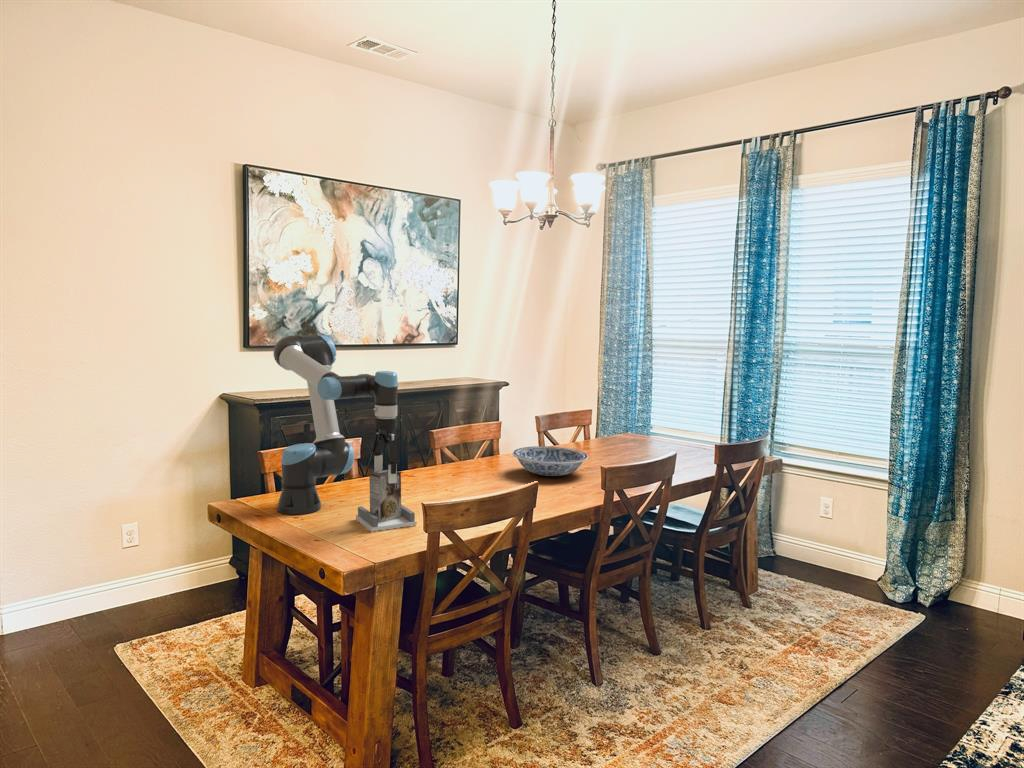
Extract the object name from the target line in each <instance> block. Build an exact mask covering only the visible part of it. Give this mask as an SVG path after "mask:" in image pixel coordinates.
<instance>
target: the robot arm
mask: <svg viewBox="0 0 1024 768" xmlns="http://www.w3.org/2000/svg"><path fill="white" fill-rule="evenodd" d="M336 356H337V349H336V346H335V343H334V341H333V340H332V339H331V338H330V337H328V336H326V335H319V334H309V335H307V334H306V335H304V334H303V335H301V334H300V335H298V334H297V335H295V334H294V335H286V336H284V337H282V338H280V339H279V340H278V341H277V342H276V344H275V345H274V349H273V358H274V361H275V363H277V365H278V366H280V367H281V368H282V369H284V370H286V371H291V372H293V373H295V374H296V375H297V376H299V377H300V378H302V379H304V380H305V381H306V382H307V388H308V397H309V400H310V401H309V402H310V408H311V412H312V420H313V425H314V429H315V430H314V431H315V436H316V437H315V440H313V442H311V443H310V442H304V443H296V444H292V445H289V446H287V447H285V448H284V449H283V451H282V453H281V460H280V462H281V487H282V488H281V492H280V496H279V498H278V502H277V510H276V511H277V512H279V513H280V514H285V515H305V514H311V513H315V512H319V510H321V508H322V505H321V504H322V503H321V499H320V496H319V493H318V490H317V488H316V487H317V486H316V485H317V484H316V480H317V479H319V478H326V477H331V476H339V475H342V474H346V473H348V472H349V471H350V470H351V469H352V466H353V464H354V461H355V452H354V448H353V446H352V444H351V443H349V442H347V441H346V439H345V436H344V435H342V434H341V433H340V428H339V423H338V415H337V410H336V405H335V401H336V400H341V399H342V400H344V399H355V398H368V397H369V398H374V408H373V411H374V416H375V417H374V428H375V430H374V431H375V433H374V439H373V444H372V448H371V452H372V453H373V456H374V459H373V460H374V463H373V465H374V467H373V468H374V471H373V472H378V471H383V470H384V469H383V467H384V466H383V462H384V460H383V455H384V452H383V451H384V449H385V450H386V453H387V458H388V462H387V465H388V466H387V467H388V469H387V470H388V483H389V484H390V483H397V471H398V464H400V463H401V460H400V453H399V449H398V442H397V440H398V439H397V436H398V435H397V434H396V433H393V430H396V429H397V428H398V418H397V417H398V394H399V393H398V390H399V389H398V387H399V382H398V374H397V372H395V371H389V370H381V371H376V372H375V375H373V374H369V373H360V374H359V373H358V374H357V375H344V376H343V375H342V376H341V375H339V374H337V373H335V372H333V371H332V368H333V364H334V363H335V362H336V359H337V358H336Z"/></svg>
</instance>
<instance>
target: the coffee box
mask: <svg viewBox="0 0 1024 768" xmlns="http://www.w3.org/2000/svg"><path fill="white" fill-rule="evenodd" d="M401 472H402V471H398V470H397V483H390V484H389V483H388V469H383V470H382V471H378V472H374V471H373V472H370V473H369V474H368V475H369V512H371V513H372V514H373V515H375V516H376V517H377V518H378V522H384V521H388V520H392V519H395V518H399V517H401V505H402V481H401V480H402V475H401V474H402V473H401Z"/></svg>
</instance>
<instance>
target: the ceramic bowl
mask: <svg viewBox="0 0 1024 768" xmlns="http://www.w3.org/2000/svg"><path fill="white" fill-rule="evenodd" d="M512 456H513V457H515V458H517V460H518V462H519V464H520V465H521V466H522V467H523V468H524V469H525V470H526V471H528V472H530V473H533V474H535V475H538V476H544V477H545V476H546V477H562V476H566V475H567V476H568V475H570V474H572V473H574V472H575V471H577V470H578V469H579V467H581V466H582V464H583V462H586V461H587V460H588V459H589V455H588V454H587V453H585V452H583V451H580V450H577V449H573V448H568V447H561V446H548V445H547V446H546V445H544V446H543V445H541V446H540V445H539V446H538V445H537V446H526V447H525V446H524V447H520V448H516V449H514V450H513V451H512Z"/></svg>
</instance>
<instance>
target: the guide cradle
mask: <svg viewBox="0 0 1024 768" xmlns="http://www.w3.org/2000/svg"><path fill="white" fill-rule="evenodd" d="M415 519H416V518H415V512H414V511H413V510H411V509H410V508H408V507H406V506H405V505H403V504H401V517H399V518H395V519H392V520H388V521H384V522H378V518H377V517H376V516H375V515H373V514H372V513H371V512H370V510H368V509H367V508H365V507H364V506H361V505H359V506H358V507H357V514H356V515H355V520H356V521H357V522H358V521H359V522H360V525H362V526H363V527H364V526H365V527H366V528H365V527H364V528H365V529H367V531H369V530H370V531H371V532H370V533H374V532H373V531H376V532H379V531H378V530H383V531H387V530H386V529H390V530H394V529H393V528H397V529H401V528H400V527H404V528H406V527H405V526H410V527H412V526H411V525H417V520H415ZM359 522H358V523H359Z"/></svg>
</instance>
